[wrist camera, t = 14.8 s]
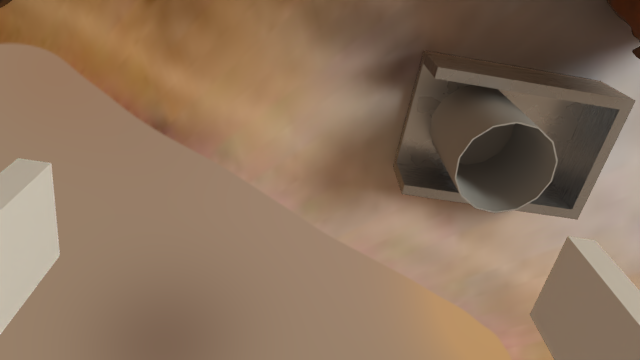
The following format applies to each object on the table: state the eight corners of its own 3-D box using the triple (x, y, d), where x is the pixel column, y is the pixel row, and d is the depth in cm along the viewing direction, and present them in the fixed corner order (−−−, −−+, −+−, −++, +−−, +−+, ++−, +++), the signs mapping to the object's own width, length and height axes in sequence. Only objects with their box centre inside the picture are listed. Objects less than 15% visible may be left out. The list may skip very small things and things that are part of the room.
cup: (437, 82, 47) (465, 119, 39) (521, 85, 48) (569, 123, 39) (424, 161, 51) (448, 211, 43) (502, 164, 52) (541, 214, 43)
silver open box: (392, 166, 53) (401, 194, 47) (423, 50, 47) (438, 67, 42) (551, 190, 54) (577, 219, 49) (600, 80, 49) (635, 100, 43)
